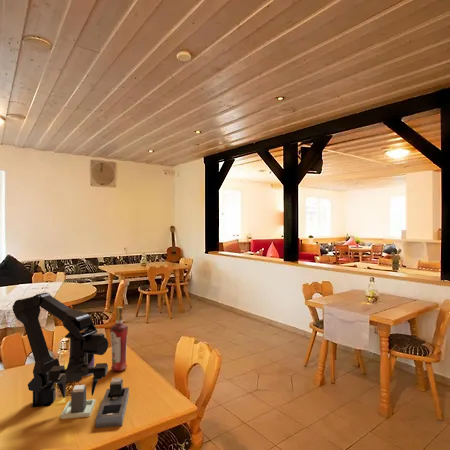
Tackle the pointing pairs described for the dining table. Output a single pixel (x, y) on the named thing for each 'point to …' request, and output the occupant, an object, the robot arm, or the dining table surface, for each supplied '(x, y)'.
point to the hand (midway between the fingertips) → (78, 396)
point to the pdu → (113, 405)
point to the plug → (78, 399)
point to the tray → (86, 413)
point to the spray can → (90, 360)
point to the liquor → (119, 343)
